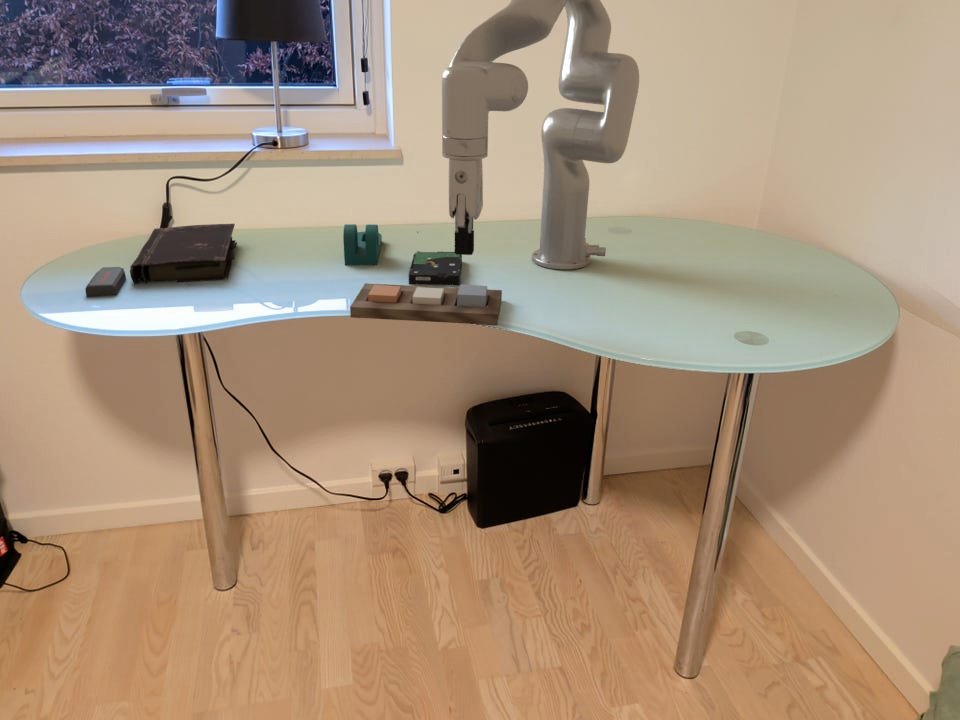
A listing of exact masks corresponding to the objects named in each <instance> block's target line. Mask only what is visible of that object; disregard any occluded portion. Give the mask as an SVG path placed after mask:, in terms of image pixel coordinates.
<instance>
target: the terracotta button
mask: <svg viewBox="0 0 960 720" xmlns="http://www.w3.org/2000/svg"><path fill="white" fill-rule="evenodd" d="M400 298H401V286H386V285H374V286H373V287H372V289H371V291H370V292H369V294H368V301H371V302H390V303H398V302H399V300H400Z"/></svg>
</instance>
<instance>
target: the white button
mask: <svg viewBox="0 0 960 720" xmlns="http://www.w3.org/2000/svg"><path fill="white" fill-rule="evenodd" d="M412 298H413V304H429V305H443V303H444V288H426V287H417V288H416V290H415V292H414V295H413V297H412Z"/></svg>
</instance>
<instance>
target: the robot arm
mask: <svg viewBox="0 0 960 720" xmlns="http://www.w3.org/2000/svg"><path fill="white" fill-rule="evenodd" d="M564 9H565V13H566V18H567V28H566V37H565V41H564V46H563V53H562V59H561V63H560V69H559V77H558V91H559V94H560V95H561V96H562V97H563V98H564V99H565V100H567V101H571V102H577V103H585V104H592V105H600V106H602V105H603V106H604V109H603V111H598V110H597V111H595V110H589V109H581V108H572V107H571V108H570V107H568V108H567V107H565V108H564V107H563V108H558V109H554V110H552V111H550V112H549V113H548V114H547V115H546V116H545V117H544V119H543V122H542V124H541V125H542V126H541V132H540V133H541V136H540V137H541V144H542V153H543V186H542V187H543V189H542V201H541V202H542V203H541V219H540V220H541V221H540V237H539V248H538V249H536V250H534V251H533V252H532V254H531V259H532V261H533V263H534V264H537V266H538V265H539V266H541V267H544V268H548V269H552V270H553V269H554V270H577V269H581V268H585V267H587V266H588V265H589V264H590V263H591V256H596V257H606V251H607V250H606V249H607V248H606V246H605V247H603V246H600V244H589V243H587V240H586V229H587V218H588V217H587V215H588V205H589V193H590V192H589V191H590V184H591V183H590V175H589V172H588V170H587V167H586V165H585V163H584V161H587V162H593V163H600V164H601V163H602V164H614V163H617V162H618V161H620V160H621V158H622V157H623V156H624V154H625V151H626V149H627V145H628V142H629V136H630V132H631V128H632V122H633V118H634V112H635V109H636V103H637V98H638V93H639V88H640V87H639V86H640V69H639V66H638V63H637V61H636V60H635V59H634V58H633V57H632V56H630V55H629V54H625V53H619V52H618V53H615V52H609V45H610V39H611V33H612V24H611V19H610V17H609V13H608V12H607V10H606V8H605V6H604V4H603V2H602V1H601V0H510V2H509V3H508V4H507V6H506V7H504V8H502V9H500V11H498V12H496V13H494V14H493V15H492V16H491V17H489V18H487V19H486V20H484V21H483V22H482V23H481V24H478V26H476V27H475V28H474V29H473V30H472V31H471V32H470V33H468V35H467V36H466V37H465V38H464V39H463V40H462V42H461V44H460V45H459V46H458V49H457V50H456V52H455V54H454V55H453V57H452V59H451V61H450V63H449V66H448V67H447V68H446V69H444V71H443V72H442V76H441V124H442V125H441V127H442V128H441V130H442V131H441V136H442V137H441V141H442V142H441V143H442V145H441V146H442V147H441V148H442V151H441V155H442V157H443V158H446V159H448V214H449V217H450V218H451V219H454V223H455V227H454V229H455V231H454V252H455V254H460V255H462V256H463V255H464V256H465V255H466V256H472V255H473V254H474V251H475V229H474V221H475V220H477V219H478V218H479V217H480V215H481V213H482V210H483V207H484V195H483V194H484V192H483V190H484V189H483V187H484V186H483V185H484V183H483V180H484V179H483V177H484V176H483V175H484V174H483V173H484V172H483V159H485V158H487V157H488V152H489V151H488V150H489V149H488V148H489V145H488V144H489V135H488V134H489V113H490V112H510V111H514V110H516V109H517V108H519V107H520V106H522V104H523V103H524V102H525V100H526V98H527V95H528V91H529V82H528V81H529V80H528V78H527V75H526V73H525V72H524V70H523V69H521V68H520V67H518V66H516V65H515V64H511V63H505V62H495V60H496V59H498V58H501V57H502V56H505V55H506V54H508V53H512V52H514V51H518V50H521V49H524V48H527V47H530V46H533V45H534V44H537V43H540V42H542V41H543V40H545V39H546V38H547V37H548V36H550V34H551V33H552V32H551V31H552V30H553V28H554V26H555V24H556V23H557V21H558V19H559V17H560V15H561V13H562V11H563V10H564Z"/></svg>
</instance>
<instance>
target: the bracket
mask: <svg viewBox="0 0 960 720" xmlns="http://www.w3.org/2000/svg"><path fill="white" fill-rule="evenodd" d="M382 238H383V237H382V234H381V233H380V232H379V225H378V224H365V231H358V226H357V224H348V223H347V224H344V226H343V257H344V266H378V263H379V257H380V254H381V249H382V245H383V241H382V240H383V239H382Z"/></svg>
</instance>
